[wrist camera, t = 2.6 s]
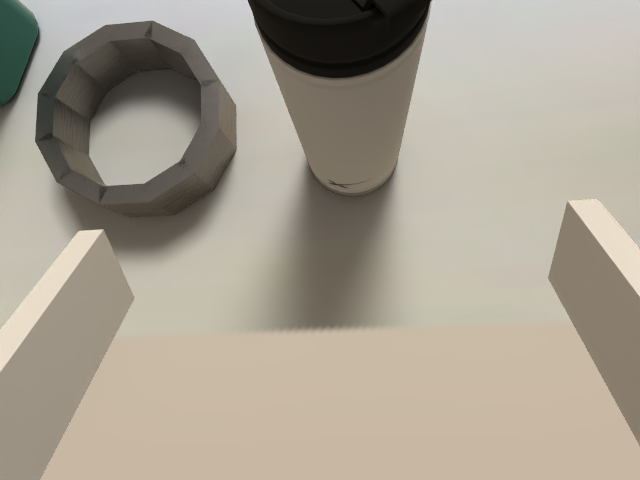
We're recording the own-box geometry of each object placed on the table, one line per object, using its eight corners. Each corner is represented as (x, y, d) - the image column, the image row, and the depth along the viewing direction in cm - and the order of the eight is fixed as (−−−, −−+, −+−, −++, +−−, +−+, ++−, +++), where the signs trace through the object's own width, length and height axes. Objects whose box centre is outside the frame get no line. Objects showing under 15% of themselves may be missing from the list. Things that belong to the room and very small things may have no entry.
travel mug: (350, 219, 32) (326, 74, 12) (290, 149, 33) (181, -86, 13) (420, 161, 32) (509, -74, 12) (358, 94, 33) (349, -221, 13)
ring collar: (266, 95, 34) (253, 67, 30) (182, 245, 33) (157, 237, 29) (127, 30, 36) (97, -5, 32) (43, 170, 35) (2, 152, 31)
